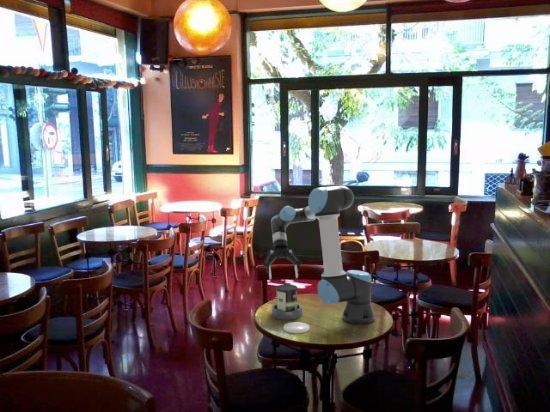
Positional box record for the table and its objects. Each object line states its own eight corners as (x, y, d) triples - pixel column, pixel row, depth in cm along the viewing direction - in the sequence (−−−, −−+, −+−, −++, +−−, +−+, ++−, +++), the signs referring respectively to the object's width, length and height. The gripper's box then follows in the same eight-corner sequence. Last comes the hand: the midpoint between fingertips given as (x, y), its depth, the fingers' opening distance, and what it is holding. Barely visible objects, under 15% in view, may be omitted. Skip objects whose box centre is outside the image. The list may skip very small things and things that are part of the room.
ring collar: (305, 311, 265) (305, 304, 264) (295, 321, 252) (295, 313, 251) (279, 308, 270) (279, 300, 270) (267, 317, 257) (267, 309, 257)
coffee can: (298, 311, 265) (298, 284, 263) (295, 319, 255) (295, 290, 253) (278, 310, 267) (278, 283, 265) (274, 317, 257) (274, 289, 255)
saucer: (313, 325, 246) (313, 324, 246) (304, 335, 235) (304, 333, 235) (289, 322, 251) (289, 320, 251) (279, 331, 240) (279, 329, 240)
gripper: (302, 245, 285) (307, 280, 273) (256, 246, 283) (259, 282, 270) (304, 237, 279) (308, 272, 267) (256, 239, 277) (259, 274, 264)
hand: (283, 277), depth 269 cm, fingers open, 13 cm apart
